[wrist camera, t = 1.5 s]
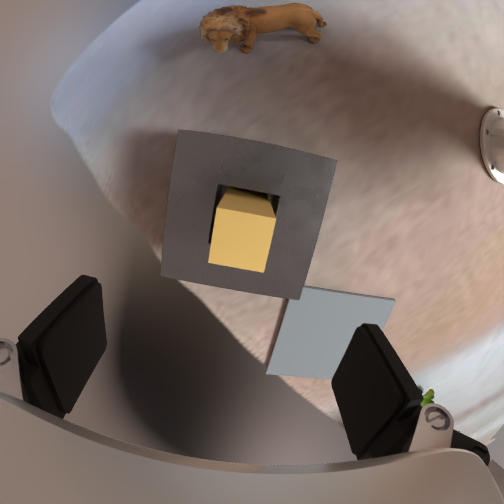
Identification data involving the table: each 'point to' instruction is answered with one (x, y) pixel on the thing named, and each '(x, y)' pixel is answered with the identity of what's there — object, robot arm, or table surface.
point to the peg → (242, 230)
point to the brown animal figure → (257, 24)
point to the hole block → (252, 178)
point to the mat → (322, 330)
